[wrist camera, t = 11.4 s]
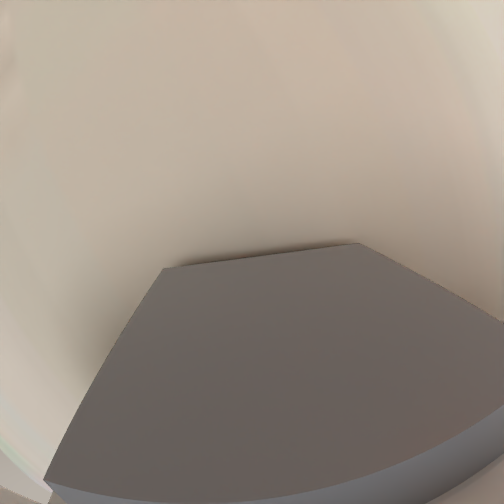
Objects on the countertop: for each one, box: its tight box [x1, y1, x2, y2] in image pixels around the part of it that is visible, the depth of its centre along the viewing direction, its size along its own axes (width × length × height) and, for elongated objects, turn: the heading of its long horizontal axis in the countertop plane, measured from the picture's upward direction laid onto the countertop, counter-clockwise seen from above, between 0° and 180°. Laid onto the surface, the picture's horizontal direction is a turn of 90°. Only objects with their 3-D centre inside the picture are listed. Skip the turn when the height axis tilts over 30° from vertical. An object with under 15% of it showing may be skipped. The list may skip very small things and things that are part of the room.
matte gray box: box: [43, 243, 504, 504], centre depth 7 cm, size 7×7×9 cm
